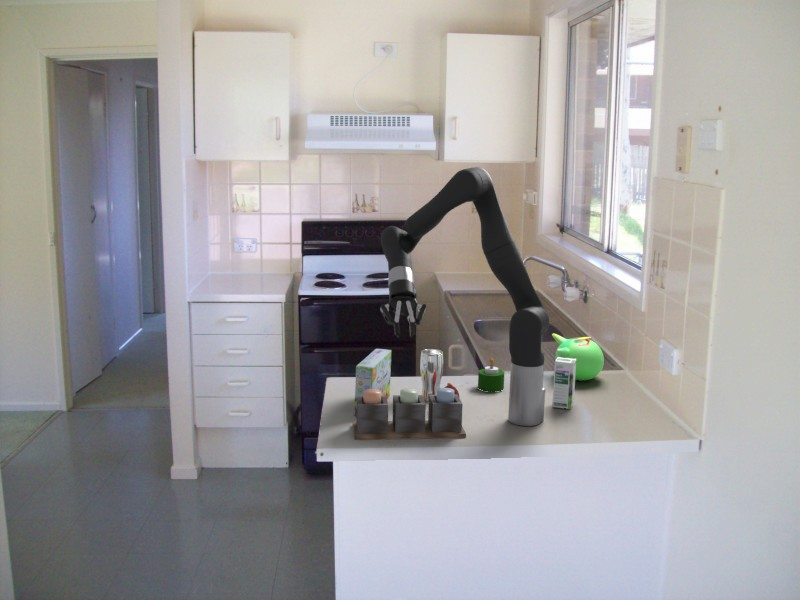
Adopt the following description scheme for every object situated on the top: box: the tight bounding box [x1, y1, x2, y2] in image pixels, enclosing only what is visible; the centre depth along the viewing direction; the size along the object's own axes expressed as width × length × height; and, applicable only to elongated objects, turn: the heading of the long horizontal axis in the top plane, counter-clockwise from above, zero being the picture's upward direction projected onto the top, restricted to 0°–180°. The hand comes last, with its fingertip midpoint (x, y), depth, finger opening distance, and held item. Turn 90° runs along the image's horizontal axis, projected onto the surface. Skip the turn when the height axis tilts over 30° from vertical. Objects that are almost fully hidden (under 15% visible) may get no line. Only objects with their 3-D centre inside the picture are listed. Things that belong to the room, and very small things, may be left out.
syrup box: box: [551, 357, 576, 410], centre depth 253 cm, size 6×6×14 cm
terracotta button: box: [363, 389, 381, 404], centre depth 227 cm, size 5×5×4 cm
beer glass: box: [419, 348, 444, 403], centre depth 256 cm, size 7×7×15 cm
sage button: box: [399, 387, 419, 403], centre depth 228 cm, size 5×5×4 cm
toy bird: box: [551, 333, 605, 382], centre depth 280 cm, size 18×17×15 cm
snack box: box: [354, 348, 393, 416], centre depth 249 cm, size 21×6×15 cm, turn 166°
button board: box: [352, 394, 467, 441], centre depth 229 cm, size 30×11×9 cm, turn 96°
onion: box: [443, 382, 460, 398], centre depth 249 cm, size 6×6×8 cm
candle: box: [477, 358, 505, 393], centre depth 268 cm, size 8×8×10 cm
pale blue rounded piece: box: [437, 387, 454, 403], centre depth 229 cm, size 5×5×4 cm
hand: (405, 335), depth 237 cm, fingers open, 3 cm apart
